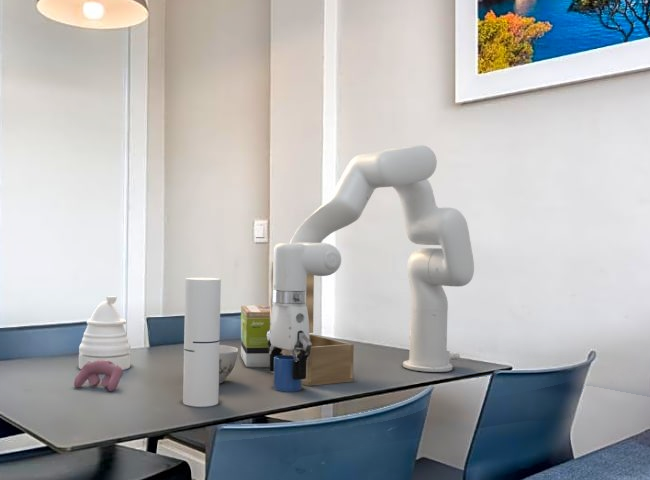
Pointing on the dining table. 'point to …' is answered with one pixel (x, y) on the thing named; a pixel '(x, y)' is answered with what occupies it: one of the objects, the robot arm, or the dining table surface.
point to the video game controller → (96, 368)
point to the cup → (285, 374)
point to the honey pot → (105, 337)
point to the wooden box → (327, 361)
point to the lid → (308, 296)
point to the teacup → (226, 361)
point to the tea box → (255, 335)
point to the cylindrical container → (201, 341)
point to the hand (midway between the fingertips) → (287, 375)
